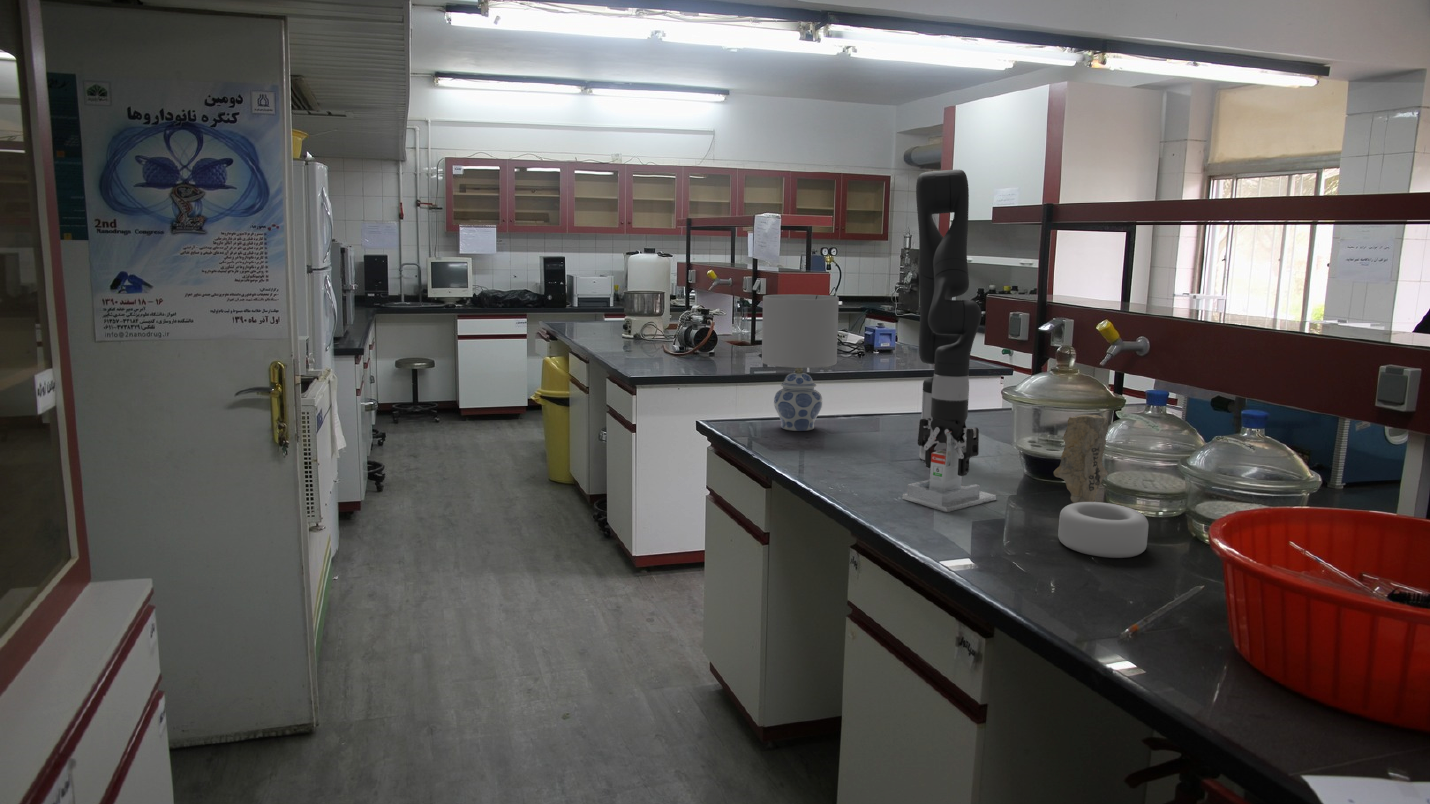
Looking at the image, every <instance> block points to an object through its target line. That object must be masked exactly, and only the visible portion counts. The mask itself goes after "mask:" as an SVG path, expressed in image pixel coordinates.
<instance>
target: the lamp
mask: <svg viewBox="0 0 1430 804" xmlns="http://www.w3.org/2000/svg"><path fill="white" fill-rule="evenodd" d="M839 298H840V297H839V296H835V295H834V296H832V295H823V294H821V295H820V294H797V293H796V294H794V293H793V294H768V295H763V296H762V322H761V323H762V326H761V327H762V328H761V329H762V331H761V332H762V333H761V335H762V337H761V363H762V364H764V365H769V366H771V367H772V366H774V367H780V368H781V367H782V368H795V369H794V372H791V373H789V374H787V375H786V376H785V378H784V380H783V382H781V383H780V386H781V387H782V388H781V389H779V390H778V391H777V392H776V393H775V395H774V398H773V407H774V409H775V411H776V413H777V415H778V417H779V419H780V422H781V424H780V428H781V429H783V430H786V431H790V432H791V431H792V432H793V431H794V432H807V431H812V430H813V429H815V425H814V424H815V421H816V419H817V417H818V416H819V414H820V412H821V410H822V408H823V397H822V395H821V394H822V393H820V392H819V391H818V390H816V389H815V388H816V387H817V383H815V382H814V380H813V377H812V376H811V375H810V374H807V373H805V372H804V371H803V370H804V369H809V368H826V367H831V366H835V365H837V361H838V332H839V330H838V329H839V302H840V301H839V300H840V299H839Z"/></svg>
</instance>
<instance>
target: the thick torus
mask: <svg viewBox="0 0 1430 804" xmlns="http://www.w3.org/2000/svg"><path fill="white" fill-rule="evenodd" d="M1149 526H1150V525H1149V520H1148V519H1147V517H1146V516H1145V515H1143V513H1141V512H1139V511H1137V510H1136V509H1134V508H1131V507H1128V506H1123V505H1119V504H1115V503H1108V502H1098V501H1095V502H1079V503H1073V502H1072V503H1070V504H1068V505H1065V506H1064V507H1063V508H1062V509H1061V510H1060V513H1059V521H1058V532H1057V534H1058V535H1057V537H1058V539H1059V542H1061V544H1062V545H1064V547H1066V548H1068V549H1070V550H1072V551H1074V552H1078V553H1081V554H1085V555H1089V556H1093V557H1099V558H1110V559H1123V558H1124V559H1125V558H1132V557H1136V556H1139V555H1141V554H1142V553H1143V552H1145V550H1146V549H1147V547H1148V546H1147V545H1148V534H1149Z"/></svg>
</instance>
